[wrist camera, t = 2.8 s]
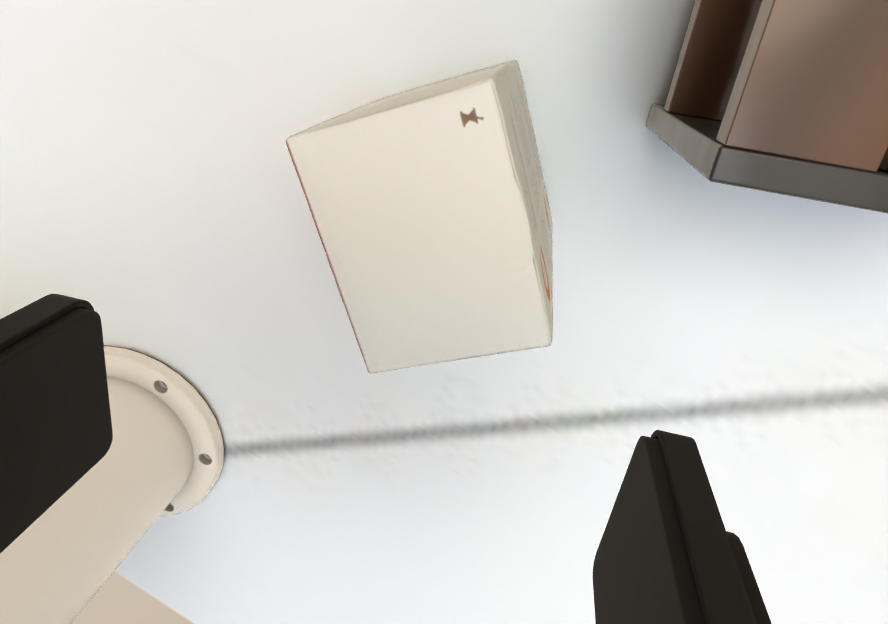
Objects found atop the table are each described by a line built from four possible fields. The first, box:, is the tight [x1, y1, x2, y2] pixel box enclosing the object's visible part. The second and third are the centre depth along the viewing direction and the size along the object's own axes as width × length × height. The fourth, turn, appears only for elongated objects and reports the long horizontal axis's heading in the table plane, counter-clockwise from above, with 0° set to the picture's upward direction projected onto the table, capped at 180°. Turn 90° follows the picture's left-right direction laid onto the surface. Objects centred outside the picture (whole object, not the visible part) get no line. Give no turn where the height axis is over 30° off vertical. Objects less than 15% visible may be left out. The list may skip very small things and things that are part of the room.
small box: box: [286, 61, 553, 373], centre depth 24 cm, size 8×6×13 cm
